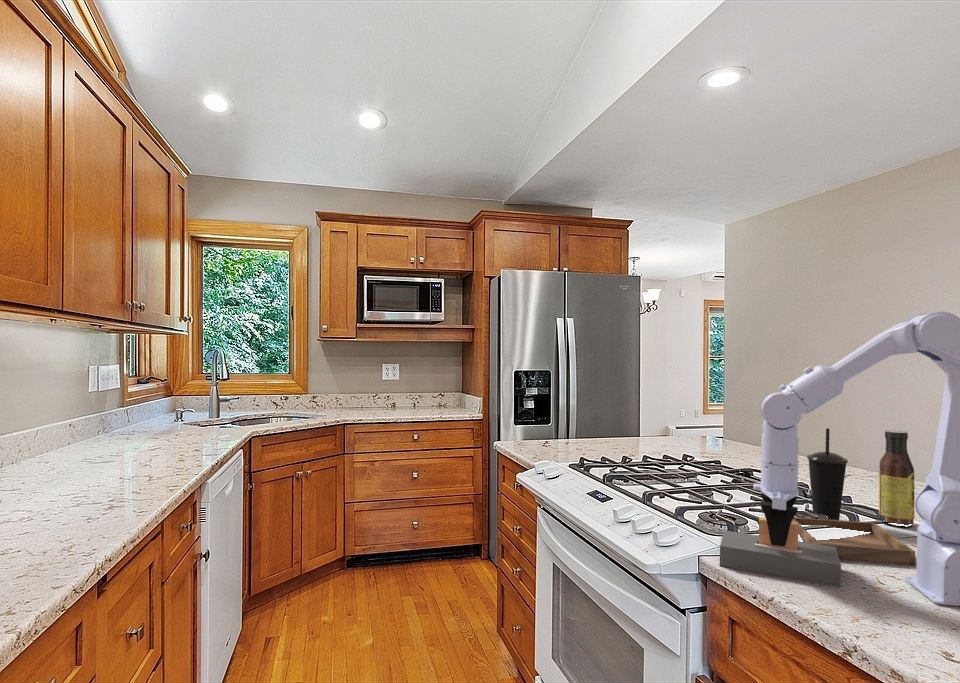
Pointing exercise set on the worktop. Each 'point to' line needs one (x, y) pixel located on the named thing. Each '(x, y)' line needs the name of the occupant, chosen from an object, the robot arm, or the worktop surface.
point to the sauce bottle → (896, 480)
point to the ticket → (791, 540)
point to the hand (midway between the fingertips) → (777, 540)
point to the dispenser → (781, 559)
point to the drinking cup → (827, 481)
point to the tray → (861, 542)
